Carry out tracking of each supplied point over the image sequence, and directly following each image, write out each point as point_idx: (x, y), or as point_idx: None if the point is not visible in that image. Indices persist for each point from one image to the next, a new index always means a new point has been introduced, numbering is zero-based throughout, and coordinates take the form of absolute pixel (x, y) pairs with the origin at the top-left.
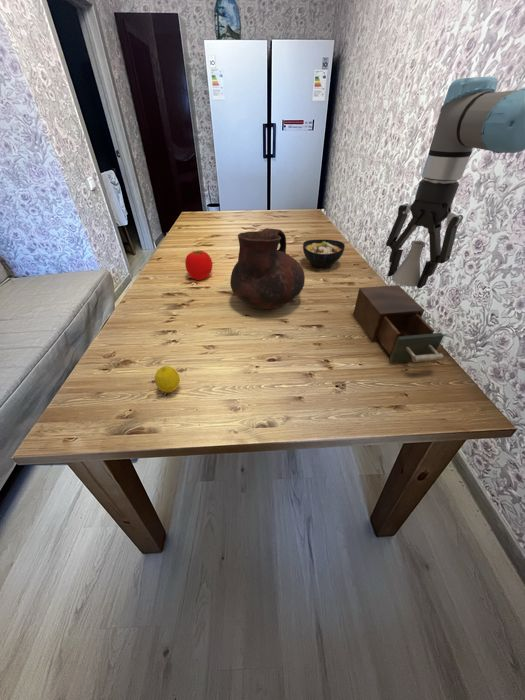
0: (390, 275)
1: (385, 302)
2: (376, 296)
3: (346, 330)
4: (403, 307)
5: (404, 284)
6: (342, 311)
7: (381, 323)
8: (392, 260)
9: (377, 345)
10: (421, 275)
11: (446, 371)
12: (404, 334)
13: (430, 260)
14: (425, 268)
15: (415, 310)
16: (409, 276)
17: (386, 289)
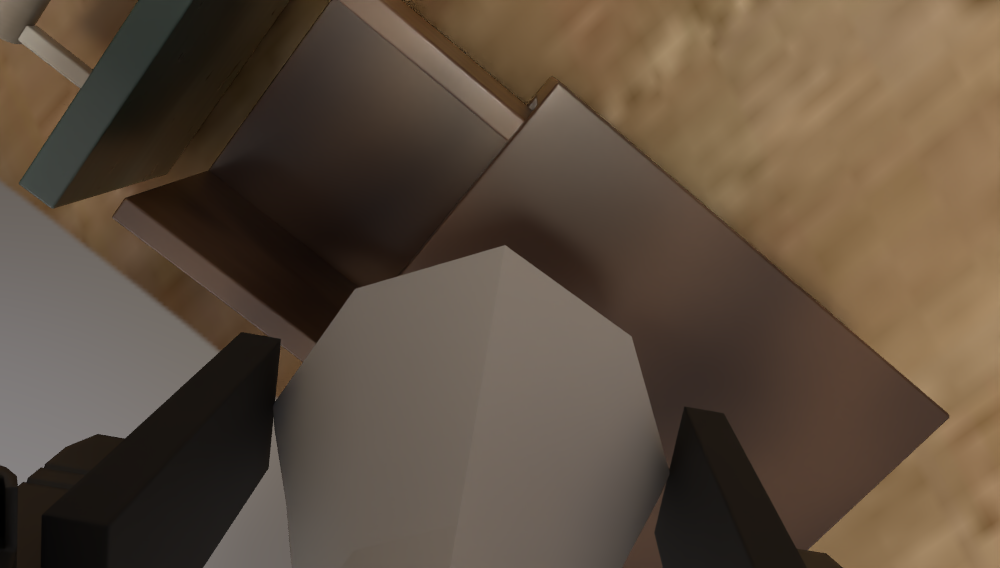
0: (685, 417)
1: (610, 318)
2: (730, 368)
3: (776, 78)
4: None
5: (419, 278)
6: (926, 300)
7: None
8: (781, 540)
9: (499, 67)
10: (212, 408)
11: (42, 121)
12: (385, 262)
13: (6, 564)
14: (129, 459)
15: None
16: (384, 359)
17: None
